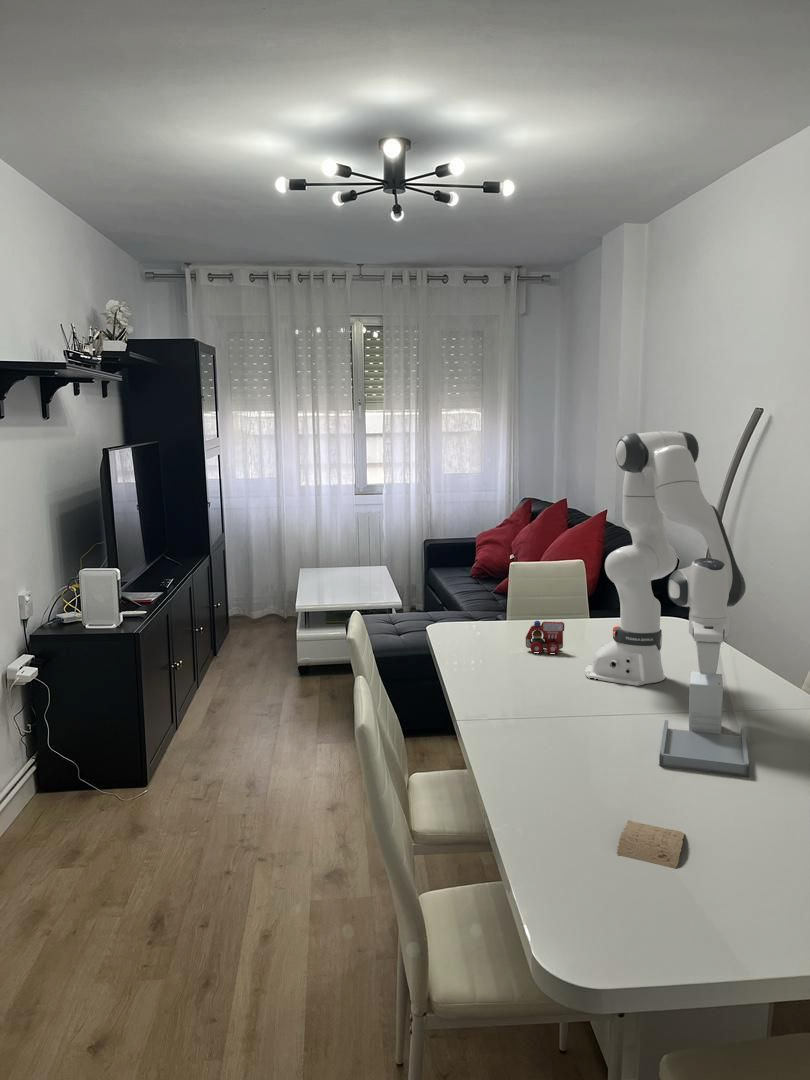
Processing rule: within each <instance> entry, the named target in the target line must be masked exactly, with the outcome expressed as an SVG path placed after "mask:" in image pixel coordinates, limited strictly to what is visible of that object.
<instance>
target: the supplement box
mask: <svg viewBox="0 0 810 1080" xmlns="http://www.w3.org/2000/svg"><path fill="white" fill-rule="evenodd" d="M723 681H724V680H723V674H722V673H716V674H715V675H704V674H700V671H690V676H689V703H688V704H689V707H688V731H696V732H705V733H715V734H722V720H723V719H722V717H723V698H724V697H723V695H724V693H723V692H724V682H723Z"/></svg>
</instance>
